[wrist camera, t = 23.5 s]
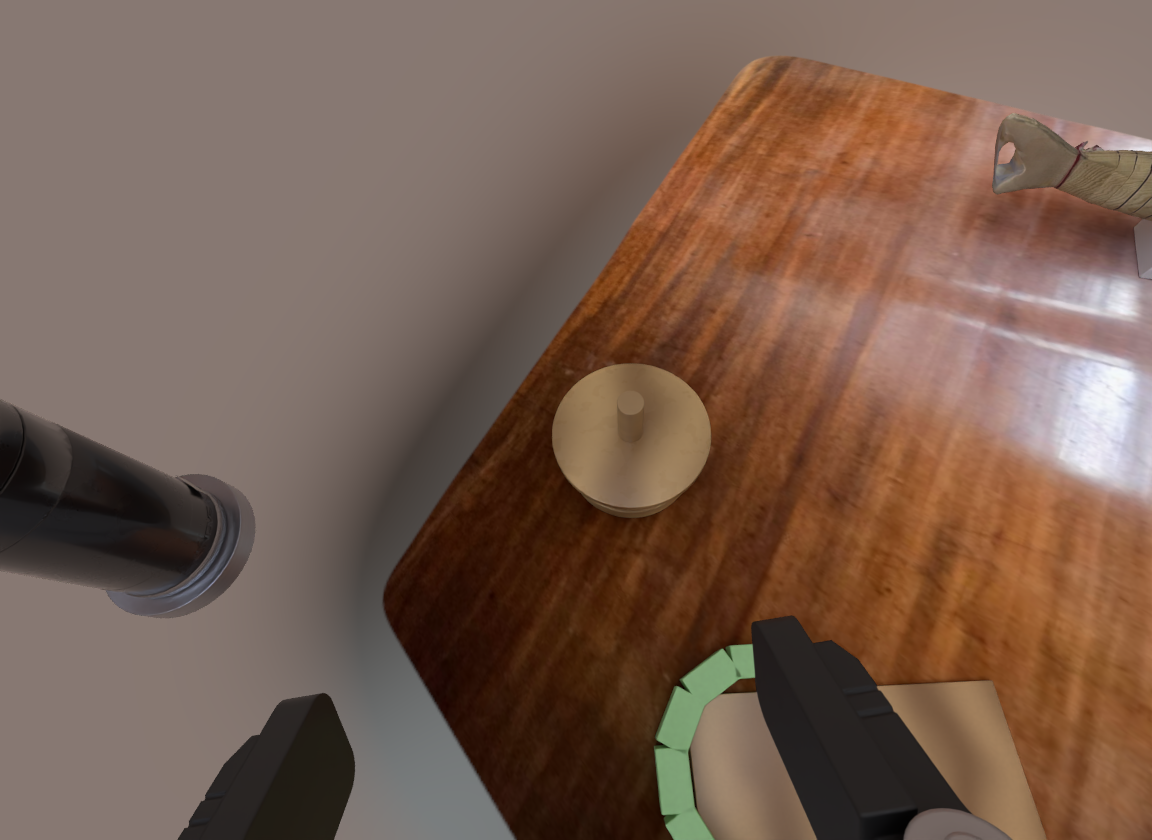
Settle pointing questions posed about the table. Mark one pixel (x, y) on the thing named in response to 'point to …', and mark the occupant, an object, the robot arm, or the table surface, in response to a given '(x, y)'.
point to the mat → (932, 714)
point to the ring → (680, 731)
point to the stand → (631, 438)
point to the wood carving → (1079, 175)
